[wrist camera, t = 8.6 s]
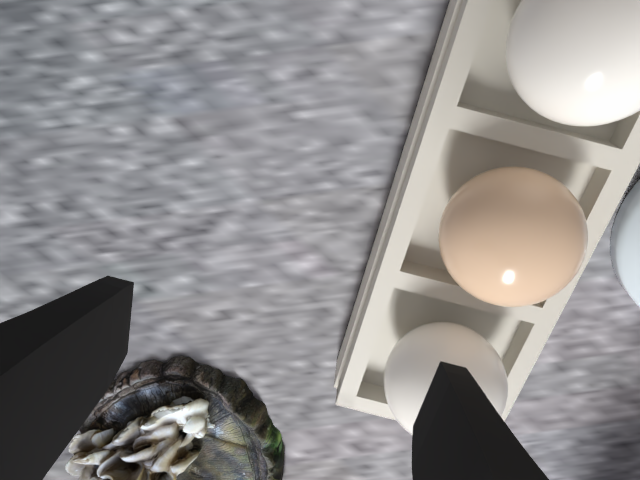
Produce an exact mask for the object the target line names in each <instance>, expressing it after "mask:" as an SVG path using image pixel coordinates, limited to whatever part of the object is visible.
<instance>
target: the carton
mask: <svg viewBox="0 0 640 480" xmlns="http://www.w3.org/2000/svg"><path fill="white" fill-rule="evenodd" d="M521 1H522V0H450V2H449V5H448V8H447V11H446V15H445V18H444V21H443V24H442V27H441V31H440V34H439V37H438V40H437V43H436V46H435V50H434V53H433V56H432V59H431V62H430V66H429V69H428V72H427V75H426V78H425V82H424V85H423V88H422V91H421V94H420V97H419V101H418V104H417V107H416V110H415V113H414V117H413V120H412V123H411V126H410V129H409V133H408V136H407V139H406V142H405V145H404V148H403V152H402V155H401V158H400V161H399V164H398V168H397V171H396V174H395V177H394V180H393V184H392V187H391V190H390V193H389V196H388V199H387V203H386V206H385V209H384V212H383V215H382V219H381V222H380V225H379V228H378V231H377V235H376V238H375V241H374V244H373V247H372V251H371V254H370V257H369V260H368V263H367V266H366V270H365V273H364V276H363V279H362V282H361V286H360V289H359V292H358V295H357V298H356V302H355V305H354V308H353V311H352V314H351V317H350V321H349V324H348V327H347V330H346V333H345V337H344V340H343V343H342V346H341V349H340V353H339V356H338V359H337V363H336V372H335V381H334V388H337V395H336V404H335V405H338V406H342V407H346V408H350V409H354V410H358V411H362V412H366V413H370V414H374V415H378V416H381V417H385V418H389V419H393V420H396V419H395V417H394V415H393V414H392V412H391V410H390V408H389V406H388V403H387V400H386V397H385V392H384V382H383V379H384V369H385V365H386V362H387V359H388V356H389V354H390V352H391V351H392V349H393V347H394V346H395V344H396V343H397V342H398V341H399V340H400V339H401V338H402V337H403V336H404V335H405V334H406V333H408V332H409V331H411V330H412V329H414V328H416V327H418V326H421V325H424V324H428V323H433V322H452V323H457V324H460V325H464V326H466V327H468V328H470V329H472V330H474V331H476V332H477V333H479V334H480V335H482V336H483V337H484V338H485V339H486V340H487V341H488V342H489V343H490V344H491V345H492V346H493V347H494V349H495V350H496V351H497V353H498V354H499V356H500V358H501V360H502V362H503V365H504V367H505V371H506V375H507V380H508V397H507V402H506V406H505V409H504V411H503V414H502V416H501V418H502V419H503V421H505V420H506V418H507V416H508V414H509V412H510V410H511V408H512V406H513V404H514V402H515V400H516V399H517V397H518V395H519V393H520V391H521V389H522V387H523V385H524V383H525V381H526V379H527V378H528V376H529V374H530V372H531V370H532V368H533V366H534V364H535V362H536V360H537V358H538V357H539V355H540V353H541V351H542V349H543V347H544V345H545V343H546V341H547V339H548V337H549V336H550V334H551V332H552V330H553V328H554V326H555V324H556V322H557V320H558V318H559V316H560V315H561V313H562V311H563V309H564V307H565V305H566V303H567V301H568V299H569V297H570V295H571V294H572V292H573V290H574V288H575V286H576V284H577V282H578V280H579V278H580V276H581V274H582V273H583V271H584V269H585V267H586V265H587V263H588V261H589V259H590V257H591V255H592V253H593V252H594V250H595V248H596V246H597V244H598V242H599V240H600V238H601V236H602V234H603V232H604V231H605V229H606V227H607V225H608V223H609V221H610V219H611V217H612V215H613V213H614V212H615V210H616V208H617V206H618V204H619V202H620V200H621V198H622V196H623V194H624V192H625V191H626V189H627V187H628V185H629V183H630V181H631V179H632V177H633V175H634V173H635V171H636V170H637V168H638V166H639V164H640V111H638V112H636V113H635V114H633V115H631V116H628V117H626V118H624V119H621V120H618V121H615V122H612V123H608V124H603V125H598V126H570V125H565V124H561V123H558V122H555V121H552V120H549V119H547V118H545V117H543V116H541V115H540V114H538V113H537V112H535V111H534V110H532V109H531V108H530V107H529V106H528V105H527V104H526V103H525V102H524V101H523V100H522V98H521V97H520V96H519V94H518V93H517V92H516V90H515V88H514V86H513V84H512V82H511V79H510V77H509V74H508V69H507V65H506V40H507V34H508V30H509V26H510V23H511V20H512V18H513V16H514V13H515V11H516V9H517V7H518V6H519V4H520V2H521ZM511 166H517V167H526V168H532V169H535V170H538V171H541V172H544V173H546V174H548V175H550V176H552V177H554V178H555V179H557V180H558V181H559V182H561V183H562V184H564V185H565V186H566V187H567V188H568V189H569V190H570V191H571V193H572V194H573V195H574V196H575V198H576V199H577V200H578V202H579V204H580V206H581V208H582V210H583V213H584V215H585V218H586V222H587V228H588V245H587V251H586V254H585V258H584V261H583V263H582V265H581V268H580V269H579V271H578V273H577V274H576V276H575V277H574V278H573V279H572V281H571V282H570V283H569V284H568V285H567V286H566V287H565V288H564V289H562V290H561V291H560V292H559V293H557V294H556V295H554V296H553V297H551V298H549V299H547V300H545V301H542V302H539V303H536V304H533V305H528V306H522V307H503V306H498V305H493V304H490V303H487V302H484V301H482V300H479V299H477V298H476V297H474V296H472V295H471V294H469V293H468V292H466V291H465V290H464V289H463V288H461V287H460V286H459V285H458V284H457V282H456V281H455V280H454V279H453V278H452V277H451V275H450V274H449V272H448V271H447V268H446V266H445V264H444V262H443V260H442V257H441V254H440V248H439V241H438V232H439V225H440V220H441V217H442V214H443V211H444V209H445V207H446V205H447V203H448V202H449V200H450V199H451V197H452V196H453V195H454V193H455V192H456V191H457V190H458V189H459V188H460V187H461V186H462V185H463V184H464V183H466V182H467V181H468V180H470V179H471V178H473V177H475V176H476V175H479V174H481V173H483V172H485V171H488V170H492V169H496V168H501V167H511Z"/></svg>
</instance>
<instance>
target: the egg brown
mask: <svg viewBox="0 0 640 480" xmlns="http://www.w3.org/2000/svg"><path fill="white" fill-rule="evenodd" d="M438 241H439V248H440V254H441V257H442V260H443V262H444V264H445V266H446V268H447V271H448V272H449V274H450V275H451V277H452V278H453V279H454V280H455V281H456V282H457V284H458V285H459V286H460V287H461V288H463V289H464V290H465V291H466V292H468V293H469V294H471V295H472V296H474V297H476V298H477V299H479V300H482V301H484V302H487V303H490V304H493V305H498V306H503V307H522V306H528V305H533V304H536V303H539V302H542V301H545V300H547V299H549V298H551V297H553V296H554V295H556V294H557V293H559V292H560V291H561V290H562V289H564V288H565V287H566V286H567V285H568V284H569V283H570V282H571V281H572V279H573V278H574V277H575V276H576V274H577V273H578V271H579V269H580V268H581V265H582V263H583V261H584V258H585V254H586V251H587V245H588V228H587V222H586V218H585V215H584V213H583V210H582V208H581V206H580V204H579V202H578V200H577V199H576V198H575V196H574V195H573V194H572V193H571V191H570V190H569V189H568V188H567V187H566V186H565V185H564V184H562V183H561V182H559V181H558V180H557V179H555V178H554V177H552V176H550V175H548V174H546V173H544V172H541V171H538V170H535V169H532V168H526V167H517V166H511V167H501V168H496V169H492V170H488V171H485V172H483V173H481V174H479V175H476V176H475V177H473V178H471V179H470V180H468V181H467V182H466V183H464V184H463V185H462V186H461V187H460V188H459V189H458V190H457V191H456V192H455V193H454V195H453V196H452V197H451V199H450V200H449V202H448V203H447V205H446V207H445V209H444V211H443V214H442V217H441V220H440V225H439V232H438Z"/></svg>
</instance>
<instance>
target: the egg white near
mask: <svg viewBox="0 0 640 480" xmlns="http://www.w3.org/2000/svg"><path fill="white" fill-rule="evenodd" d="M506 65H507V69H508V74H509V77H510V79H511V82H512V84H513V86H514V88H515V90H516V92H517V93H518V94H519V96H520V97H521V98H522V100H523V101H524V102H525V103H526V104H527V105H528V106H529V107H530V108H531V109H532V110H534V111H535V112H537V113H538V114H540V115H541V116H543V117H545V118H547V119H549V120H552V121H555V122H558V123H561V124H565V125H570V126H598V125H603V124H608V123H612V122H615V121H618V120H621V119H624V118H626V117H628V116H631V115H633V114H635V113H636V112H638V111H640V0H522V1H521V2H520V4H519V6H518V7H517V9H516V11H515V13H514V16H513V18H512V20H511V23H510V26H509V30H508V34H507V40H506Z"/></svg>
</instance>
